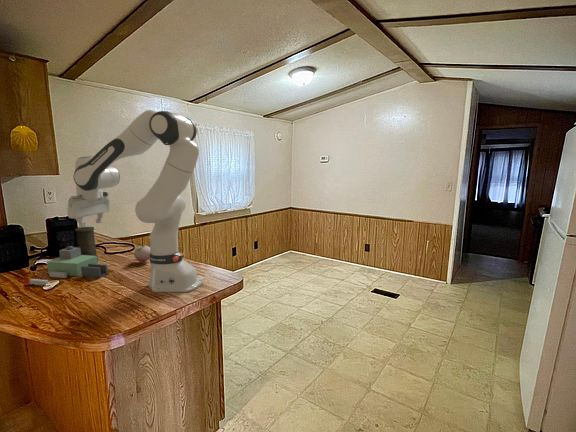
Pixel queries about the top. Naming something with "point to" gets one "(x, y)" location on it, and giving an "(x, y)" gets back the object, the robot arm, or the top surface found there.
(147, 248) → the decorative fruit
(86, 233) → the container
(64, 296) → the top surface
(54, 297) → the top surface
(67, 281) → the top surface
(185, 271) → the robot arm
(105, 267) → the chute
